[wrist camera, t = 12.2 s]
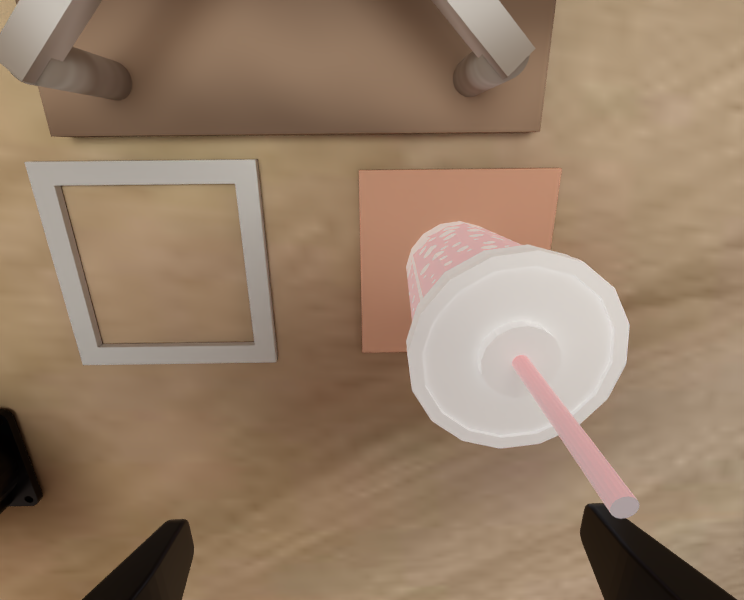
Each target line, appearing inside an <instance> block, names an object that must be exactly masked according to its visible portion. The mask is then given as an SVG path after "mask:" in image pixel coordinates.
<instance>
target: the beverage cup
mask: <svg viewBox="0 0 744 600" xmlns="http://www.w3.org/2000/svg"><path fill="white" fill-rule="evenodd" d="M406 270H407V279H408V288H409V297H410V307H411V316H412V324H411V327H410V330H409V333H408V336H407V340H406V345H407V356H408V364H409V372H410V380H411V387H412V391H413V393H414V394H415V396H416V397H417V399H418V401H419V402H420V404H421V405H422V407H423V408H424V410H425V411H426V413H427V414H428V416H429V418H430V419H431V421H433V422H434V423H436V424H437V425H439V426H440V427H442V428H443V429H445V430H446V431H448V432H450V433H451V434H453V435H454V436H456V437H457V438H459V439H460V440H462V441H466V442H470V443H475V444H480V445H485V446H490V447H494V448H499V449H501V448H509V447H517V446H525V445H534V444H540V443H542V442H545V441H547V440H549V439H551V438H553V437H556V436H558V435H559V437H560V438H561V440H562V441H563V443H564V444H565V446H566V447H567V449H568V450H569V452H570V453H571V455H572V456H573V458H574V459H575V461H576V462H577V464H578V465H579V467H580V468H581V470H582V471H583V473H584V474H585V476H586V477H587V479H588V480H589V482H590V483H591V485H592V486H593V488H594V489H595V491H596V492H597V494H598V495H599V497H600V498H601V500H602V501H603V503H604V504H605V506H606V507H607V509H608V510H609V512H610V513H611V515H612V516H614V517H615V518H620V519H622V518H628V517H630V516H632V515H633V514H635V513H636V512H637V510H638V509H639V502H638V500H637V499H636V497H635V496H634V495H633V494H632V492H631V491H630V490H629V488H628V487H627V486H626V484H625V483H624V482H623V481H622V479H621V478H620V477H619V475H618V474H617V473H616V471H615V470H614V469H613V468H612V466H611V465H610V464H609V462H608V461H607V460H606V458H605V457H604V456H603V454H602V453H601V452H600V451H599V449H598V448H597V447H596V445H595V444H594V443H593V441H592V440H591V439H590V438H589V436H588V435H587V434H586V432H585V431H584V430H583V428H582V427H581V426H580V424H581V423H582V422H583V421H584V420H585V419H586V418H587V417H588V416H589V415H591V414H592V413H593V412H594V411H595V410H596V409H597V408H598V407H599V406H600V405H602V404H603V403H604V402H605V401H606V400H607V399H608V397H609V395H610V393H611V392H612V390H613V388H614V386H615V384H616V382H617V380H618V378H619V376H620V375H621V373H622V371H623V369H624V367H625V365H626V362H627V350H628V338H629V326H630V324H629V322H628V319H627V317H626V314H625V312H624V309H623V307H622V304H621V302H620V300H619V297H618V295H617V292H616V290H615V288H614V287H613V286H612V285H610V284H609V283H608V282H607V281H606V280H605V279H603V278H602V277H601V276H600V275H599V274H597V273H596V272H595V271H594V270H593V269H591V268H590V267H589V266H588V265H587V264H586V263H584V262H583V261H581V260H579V259H577V258H573V257H570V256H569V255H566V254H563V253H559V252H555V251H551V250H547V249H543V248H540V247H536V246H532V245H528V244H527V245H521V244H519V243H516V242H514V241H512V240H510V239H507V238H505V237H503V236H500V235H498V234H496V233H493V232H491V231H489V230H487V229H484V228H482V227H480V226H477V225H473V224H469V223H465V222H462V221H457V222H450V223H443V224H440V225H438V226H436V227H434V228H433V229H431V230H429V231H427V232H426V233H424V234H423V235H422V236H421V237H420V239H419V240H418V241H417V242H416V244H415V245H414V246H413V247H412V249H411V252H410V255H409V259H408V262H407V265H406Z"/></svg>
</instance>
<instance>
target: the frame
mask: <svg viewBox="0 0 744 600" xmlns="http://www.w3.org/2000/svg"><path fill="white" fill-rule="evenodd" d="M25 166H26V169H27V173H28V176H29V179H30V183H31V186H32V190H33V193H34V197H35V200H36V204H37V207H38V211H39V214H40V218H41V221H42V225H43V228H44V231H45V235H46V238H47V242H48V245H49V249H50V252H51V256H52V259H53V263H54V266H55V270H56V273H57V277H58V280H59V283H60V287H61V290H62V294H63V297H64V301H65V304H66V308H67V311H68V315H69V318H70V322H71V325H72V328H73V332H74V335H75V339H76V342H77V346H78V349H79V353H80V356H81V360H82V363H83V365H125V364H195V363H265V362H276V361H277V359H278V357H277V347H276V337H275V327H274V317H273V307H272V297H271V287H270V277H269V268H268V258H267V248H266V238H265V228H264V218H263V208H262V198H261V188H260V178H259V168H258V159H235V160H140V161H45V162H25ZM148 184H235V186H236V194H237V203H238V211H239V219H240V227H241V236H242V244H243V252H244V260H245V269H246V277H247V285H248V293H249V302H250V310H251V318H252V326H253V335H254V342H213V343H141V344H102V340H101V337H100V333H99V329H98V325H97V321H96V318H95V314H94V310H93V306H92V303H91V299H90V295H89V291H88V287H87V284H86V280H85V276H84V272H83V269H82V265H81V261H80V257H79V253H78V250H77V246H76V242H75V238H74V234H73V231H72V227H71V223H70V219H69V216H68V212H67V208H66V204H65V200H64V197H63V193H62V189H61V185H148Z"/></svg>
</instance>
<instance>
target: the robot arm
mask: <svg viewBox="0 0 744 600" xmlns="http://www.w3.org/2000/svg"><path fill="white" fill-rule="evenodd" d="M42 497H43V494H42V491H41V489H40V486H39V483H38V481H37V478H36V475H35V473H34V470H33V467H32V464H31V462H30V459H29V456H28V454H27V451H26V448H25V446H24V443H23V440H22V438H21V435H20V432H19V430H18V427H17V424H16V422H15V419H14V416H13V415H12V413H10V412H9V411H7V410H4V409H0V514H1V513H2V512H3V511H4V510H5V509H6V508H7V507H8V506H34V505H36V504H37V503H38V502H39V501H40V500H41V499H42ZM580 536H581V541H582V543H583V546H584V549H585V551H586V554H587V556H588V559H589V561H590V564H591V566H592V569H593V572H594V574H595V577H596V579H597V582H598V584H599V587H600V590H601V592H602V595H603V597H604V600H737V599H736V598H734V597H733V596H732V595H730V594H729V593H727V592H726V591H725V590H723V589H722V588H721V587H719V586H718V585H717V584H715V583H714V582H712V581H711V580H710V579H708V578H707V577H706V576H704V575H703V574H702V573H700V572H699V571H697V570H696V569H695V568H693V567H692V566H691V565H689V564H688V563H687V562H685V561H684V560H682V559H681V558H680V557H678V556H677V555H676V554H674V553H673V552H671V551H670V550H669V549H667V548H666V547H665V546H663V545H662V544H661V543H659V542H658V541H656V540H655V539H654V538H652V537H651V536H650V535H648V534H647V533H646V532H644V531H643V530H641V529H640V528H639V527H637V526H636V525H635V524H633V523H632V522H631V521H629V520H628V519H626V518H622V519H620V518H615V517H614V516H612V515H611V513H610V512H609V510H608V509H607V507H606V506H605V504H604V503H592V504H587V505H586V506H585V509H584V514H583V519H582V523H581V528H580ZM193 554H194V544H193V539H192V535H191V530H190V526H189V522H188V521H187V520H186V519H173V520H168V521H166V522H165V523H164V524H163V525H162V526H161V527H159V528H158V529H157V530H156V531H155V532H154V533H153V534H152V535H151V536H150V537H149V538H148V539H147V540H146V541H144V542H143V543H142V544H141V545H140V546H139V547H138V548H137V549H136V550H135V551H134V552H133V553H132V554H130V555H129V556H128V557H127V558H126V559H125V560H124V561H123V562H122V563H121V564H120V565H119V566H118V567H116V568H115V569H114V570H113V571H112V572H111V573H110V574H109V575H108V576H107V577H106V578H105V579H104V580H103V581H101V582H100V583H99V584H98V585H97V586H96V587H95V588H94V589H93V590H92V591H91V592H90V593H89V594H87V595H86V596H85V597H84V598H83V599H82V600H182V597H183V593H184V589H185V585H186V582H187V578H188V574H189V570H190V567H191V563H192V559H193Z"/></svg>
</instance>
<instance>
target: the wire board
mask: <svg viewBox="0 0 744 600" xmlns="http://www.w3.org/2000/svg"><path fill="white" fill-rule="evenodd" d="M16 4H17V5H16V7H15V9H14V11H13V12H12V14H11V16H10V17H9V19H8V21H7V23H6V24H5V26H4V28H3V29H2V31H1V33H0V63H1V64H2V65H3V66H4V67H6V68H7V69H8V70H9V71H10V72H11V74H12V75H13V76H14V77H16V78H17V79H18V80H20V81H21V82H24V83H26V84H30V85H35V86H38V88H39V92H40V96H41V100H42V103H43V107H44V111H45V115H46V119H47V123H48V126H49V130H50V134H51V136H57V137H113V136H213V135H312V134H412V133H511V132H539V131H540V127H541V119H542V110H543V102H544V94H545V86H546V78H547V70H548V62H549V53H550V45H551V37H552V29H553V21H554V13H555V5H556V0H16Z"/></svg>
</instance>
